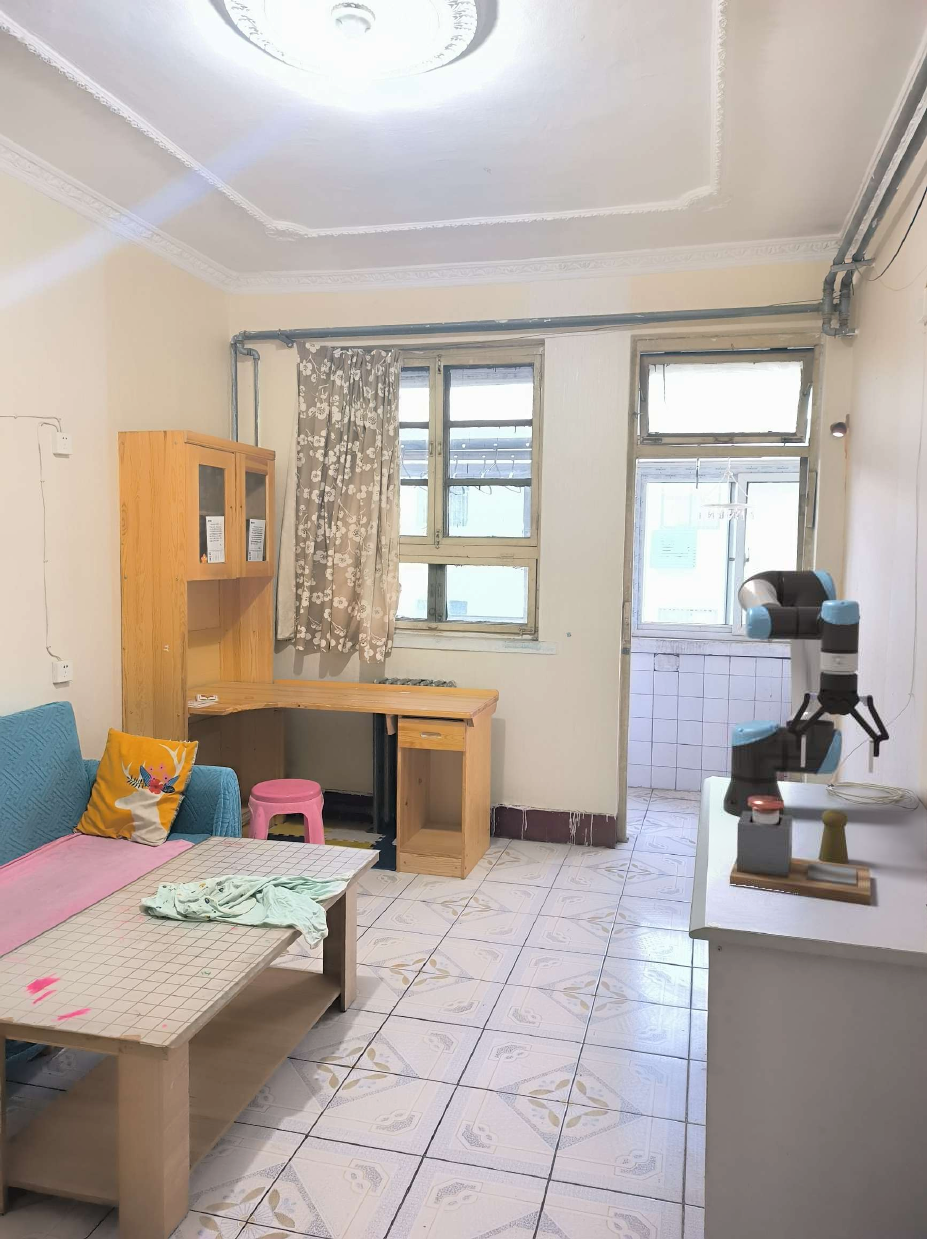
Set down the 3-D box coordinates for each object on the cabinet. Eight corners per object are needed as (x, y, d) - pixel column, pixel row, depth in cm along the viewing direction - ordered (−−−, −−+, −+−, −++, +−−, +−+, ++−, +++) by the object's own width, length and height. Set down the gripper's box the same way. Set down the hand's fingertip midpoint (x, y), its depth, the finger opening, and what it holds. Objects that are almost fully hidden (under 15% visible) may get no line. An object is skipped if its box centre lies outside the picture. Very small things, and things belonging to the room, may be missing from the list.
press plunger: (749, 836, 188) (750, 794, 188) (784, 840, 185) (785, 797, 185) (745, 846, 182) (746, 802, 181) (781, 850, 179) (782, 806, 178)
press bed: (739, 860, 194) (739, 848, 194) (869, 876, 183) (869, 864, 183) (729, 885, 179) (729, 872, 179) (870, 905, 169) (870, 891, 169)
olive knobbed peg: (847, 857, 195) (848, 808, 195) (849, 866, 190) (851, 816, 189) (817, 854, 197) (819, 806, 197) (819, 863, 192) (820, 813, 191)
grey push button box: (742, 856, 191) (743, 810, 190) (791, 862, 187) (792, 816, 186) (736, 871, 182) (737, 823, 181) (788, 878, 178) (789, 829, 177)
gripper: (776, 671, 192) (774, 767, 194) (904, 676, 182) (901, 778, 184) (779, 667, 199) (777, 759, 200) (902, 672, 189) (899, 769, 190)
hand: (836, 768), depth 192 cm, fingers open, 13 cm apart
